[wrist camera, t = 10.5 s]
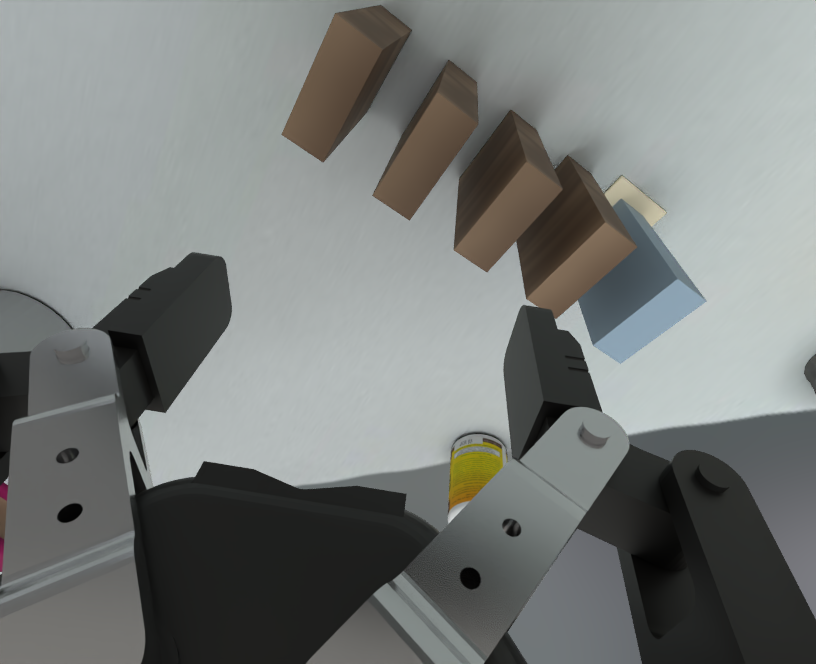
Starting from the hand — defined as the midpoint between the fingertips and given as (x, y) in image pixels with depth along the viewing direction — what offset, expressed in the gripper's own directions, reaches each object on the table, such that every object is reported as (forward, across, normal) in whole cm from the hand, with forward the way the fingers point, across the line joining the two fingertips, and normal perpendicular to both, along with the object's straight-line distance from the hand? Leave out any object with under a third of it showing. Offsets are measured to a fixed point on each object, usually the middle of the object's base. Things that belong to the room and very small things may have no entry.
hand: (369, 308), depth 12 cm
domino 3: (+19, -5, 0) cm, 20 cm away
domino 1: (+19, +3, -4) cm, 20 cm away
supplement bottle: (+20, -10, +29) cm, 36 cm away
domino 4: (+19, -9, +2) cm, 21 cm away
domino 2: (+19, -1, -2) cm, 19 cm away
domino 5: (+19, -13, +4) cm, 23 cm away
